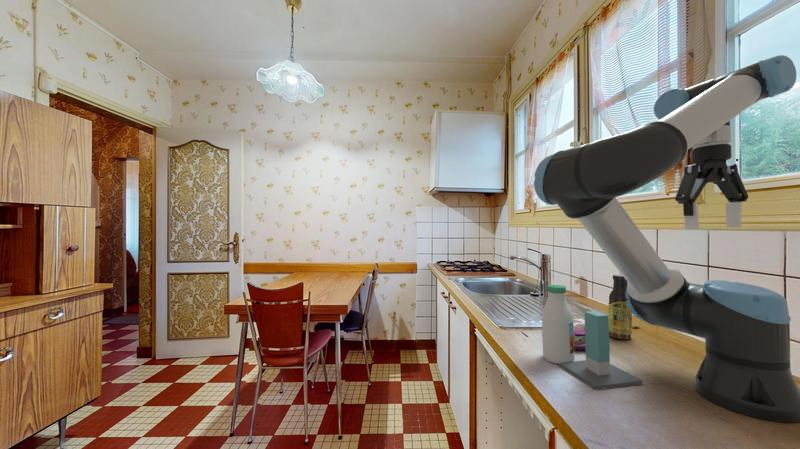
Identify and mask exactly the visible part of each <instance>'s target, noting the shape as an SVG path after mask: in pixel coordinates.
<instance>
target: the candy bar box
mask: <svg viewBox="0 0 800 449" xmlns="http://www.w3.org/2000/svg"><path fill="white" fill-rule="evenodd" d="M573 325H574V351H585V352H586V345H585V318H583V317H579V318H578V317H573ZM610 351H611V350H610V346H609V352H610Z"/></svg>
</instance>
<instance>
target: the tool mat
mask: <svg viewBox="0 0 800 449" xmlns="http://www.w3.org/2000/svg"><path fill="white" fill-rule="evenodd" d="M559 367H560V368H562V370H565V371H567V372H568V373H569V374H571V375H572V376H573V377H575V378H577V379H579V380H581V381H582V382H583V383H584V384H587V386H589V385H590V387H591V388H593V389H594V388H595V389H594V390H596V389H599V390H604V389H603V388H606V389H613V387H614V388H621V387H627V386H629V387H630V386H634V385H635V386H636V385H637V386H638V385H642V384H643V380H642V379H640V378H639V377H637V376H635V375H633V374H631V373H628V372H627V371H625V370H624V369H621V368H619V367H617V366H616V365H613V364H611V363H610V374H608V375H600V376H599V375H597V374H595V373H594V372H592V371H590V370H589V369H587V368H586V359H585V360H577V361H575V360H574V362H566V363H560V364H559Z"/></svg>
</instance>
